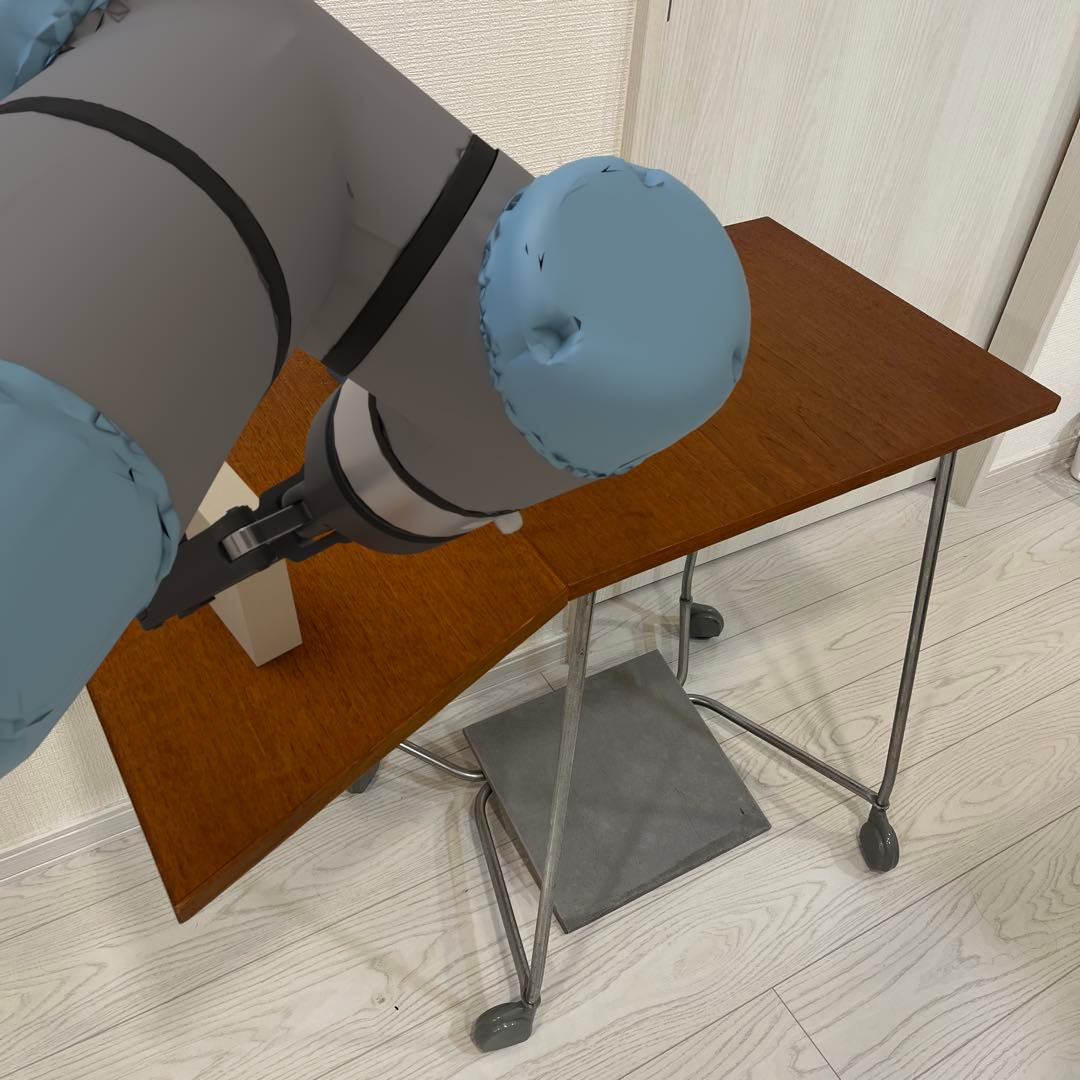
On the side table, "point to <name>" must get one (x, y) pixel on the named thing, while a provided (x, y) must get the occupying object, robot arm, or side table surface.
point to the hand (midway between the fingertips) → (287, 537)
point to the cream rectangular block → (250, 582)
